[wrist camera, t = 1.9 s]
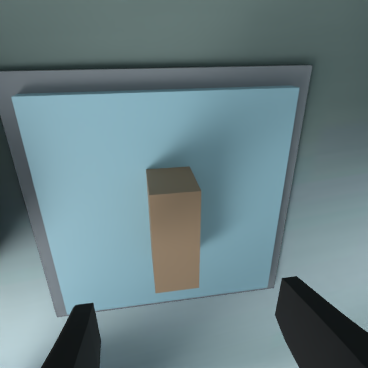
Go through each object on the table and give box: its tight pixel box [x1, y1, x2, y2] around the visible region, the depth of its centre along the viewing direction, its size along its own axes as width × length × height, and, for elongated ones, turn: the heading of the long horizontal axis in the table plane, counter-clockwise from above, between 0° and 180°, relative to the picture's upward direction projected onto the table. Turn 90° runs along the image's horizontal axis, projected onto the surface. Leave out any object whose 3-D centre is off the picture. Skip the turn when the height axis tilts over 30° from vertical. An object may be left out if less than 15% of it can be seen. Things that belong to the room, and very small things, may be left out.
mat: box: [0, 65, 312, 317], centre depth 18 cm, size 16×16×1 cm
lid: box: [11, 86, 299, 315], centre depth 16 cm, size 14×14×4 cm
